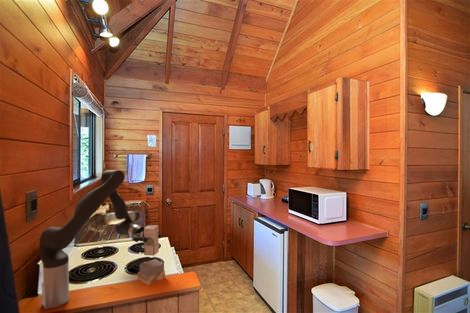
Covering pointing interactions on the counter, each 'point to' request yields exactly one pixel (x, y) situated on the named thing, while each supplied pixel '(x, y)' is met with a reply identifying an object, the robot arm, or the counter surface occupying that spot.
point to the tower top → (151, 268)
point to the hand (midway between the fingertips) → (153, 238)
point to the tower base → (151, 279)
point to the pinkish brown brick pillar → (151, 240)
